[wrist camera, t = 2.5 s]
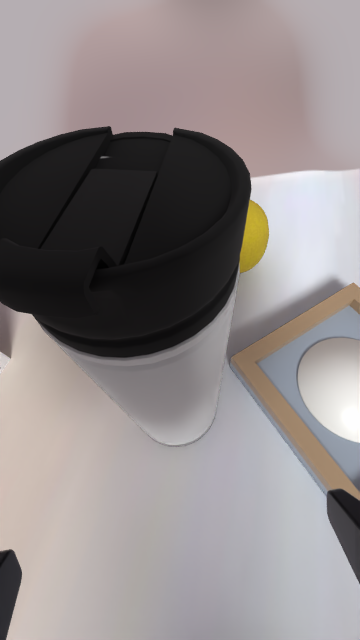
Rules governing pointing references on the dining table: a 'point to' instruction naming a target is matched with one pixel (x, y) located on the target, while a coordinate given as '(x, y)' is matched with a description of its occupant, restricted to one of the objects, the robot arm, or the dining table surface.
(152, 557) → the dining table surface
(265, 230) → the lemon
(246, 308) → the dining table surface
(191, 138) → the travel mug
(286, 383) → the square wooden frame
